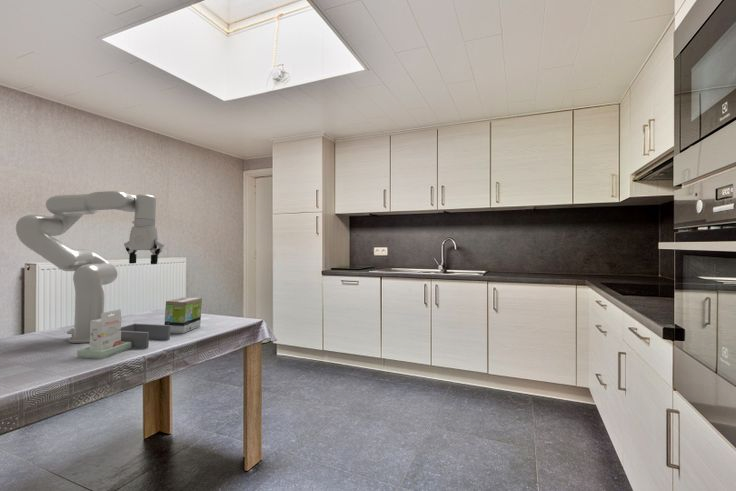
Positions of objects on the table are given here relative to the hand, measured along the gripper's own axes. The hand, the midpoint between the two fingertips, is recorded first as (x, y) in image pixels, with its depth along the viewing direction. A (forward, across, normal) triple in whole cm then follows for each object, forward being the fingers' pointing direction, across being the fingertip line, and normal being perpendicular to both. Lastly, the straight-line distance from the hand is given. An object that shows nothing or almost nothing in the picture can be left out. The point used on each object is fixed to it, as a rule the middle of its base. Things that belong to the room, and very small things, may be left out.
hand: (143, 263), depth 146 cm
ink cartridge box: (+32, +1, -18) cm, 37 cm away
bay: (+32, +3, -4) cm, 33 cm away
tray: (+32, +1, -18) cm, 37 cm away
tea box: (+33, +6, +20) cm, 39 cm away
